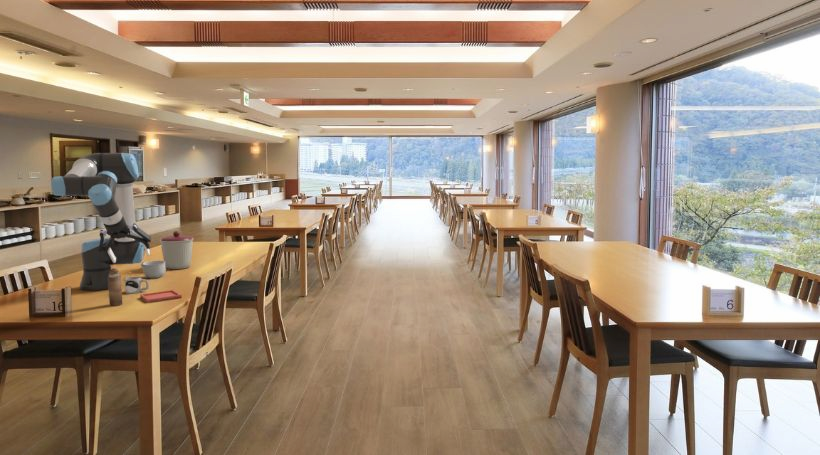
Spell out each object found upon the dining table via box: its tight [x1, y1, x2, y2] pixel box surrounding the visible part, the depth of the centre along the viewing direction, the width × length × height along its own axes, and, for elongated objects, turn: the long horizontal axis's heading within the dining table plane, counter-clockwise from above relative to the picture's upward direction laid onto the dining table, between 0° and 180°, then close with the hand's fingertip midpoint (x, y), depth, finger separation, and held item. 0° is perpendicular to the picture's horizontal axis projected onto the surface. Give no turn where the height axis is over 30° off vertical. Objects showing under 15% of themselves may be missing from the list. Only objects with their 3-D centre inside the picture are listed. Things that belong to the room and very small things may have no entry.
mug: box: [124, 276, 150, 295], centre depth 255 cm, size 10×7×7 cm, turn 101°
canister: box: [158, 230, 195, 270], centre depth 312 cm, size 18×18×21 cm
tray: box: [139, 289, 183, 304], centre depth 244 cm, size 12×14×2 cm
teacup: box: [140, 259, 167, 279], centre depth 289 cm, size 14×11×8 cm
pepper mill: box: [108, 267, 123, 307], centre depth 232 cm, size 5×5×16 cm
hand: (132, 257), depth 233 cm, fingers open, 13 cm apart
